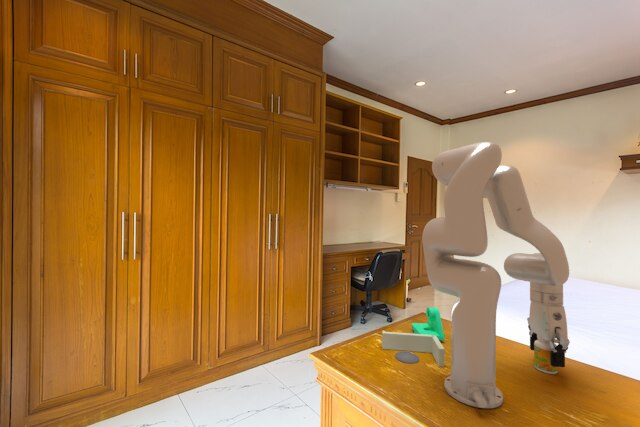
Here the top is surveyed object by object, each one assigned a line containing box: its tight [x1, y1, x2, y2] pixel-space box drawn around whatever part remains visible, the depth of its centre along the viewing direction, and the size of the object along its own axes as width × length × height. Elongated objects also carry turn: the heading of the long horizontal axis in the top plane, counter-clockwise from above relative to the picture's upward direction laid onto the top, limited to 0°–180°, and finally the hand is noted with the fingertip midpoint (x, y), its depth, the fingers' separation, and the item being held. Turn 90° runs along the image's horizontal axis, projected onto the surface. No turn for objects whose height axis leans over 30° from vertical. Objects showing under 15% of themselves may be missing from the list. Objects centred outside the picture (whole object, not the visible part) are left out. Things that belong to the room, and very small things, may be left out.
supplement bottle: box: [533, 334, 559, 375], centre depth 84 cm, size 5×5×10 cm
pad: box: [394, 351, 420, 365], centre depth 89 cm, size 7×7×1 cm
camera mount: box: [411, 307, 445, 341], centre depth 107 cm, size 12×8×10 cm, turn 0°
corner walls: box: [381, 330, 446, 368], centre depth 90 cm, size 10×17×5 cm, turn 82°
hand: (546, 357), depth 84 cm, fingers open, 9 cm apart
